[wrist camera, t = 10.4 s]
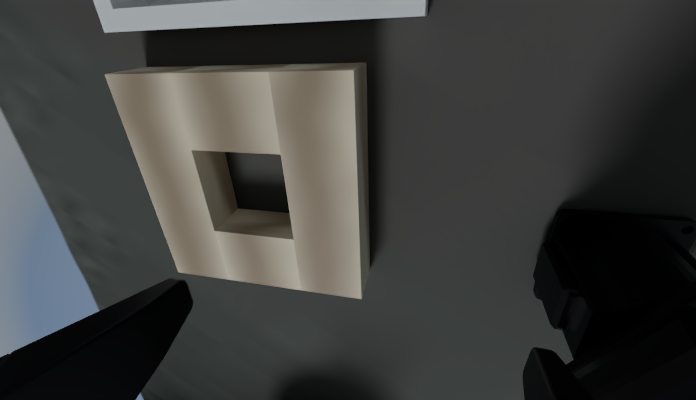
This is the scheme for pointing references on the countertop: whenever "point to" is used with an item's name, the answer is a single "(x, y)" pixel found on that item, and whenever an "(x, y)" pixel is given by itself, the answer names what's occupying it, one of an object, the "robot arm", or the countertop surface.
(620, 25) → the countertop surface
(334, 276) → the socket block
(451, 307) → the countertop surface
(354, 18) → the tray
